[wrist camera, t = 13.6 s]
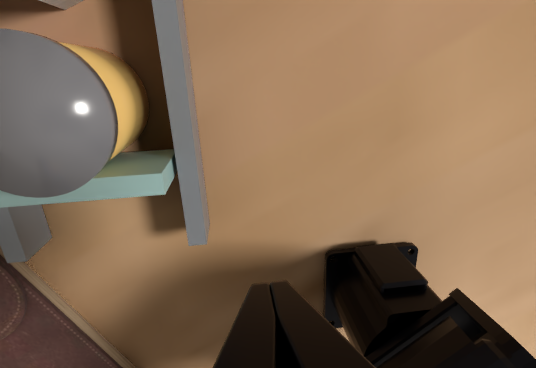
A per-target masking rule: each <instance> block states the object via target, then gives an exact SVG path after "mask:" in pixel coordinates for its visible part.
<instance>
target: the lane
mask: <svg viewBox="0 0 536 368" xmlns="http://www.w3.org/2000/svg"><path fill="white" fill-rule="evenodd" d="M152 6H153V13H154V19H155V26H156V32H157V39H158V46H159V52H160V59H161V65H162V72H163V79H164V85H165V92H166V99H167V105H168V112H169V118H170V125H171V132H172V138H173V145H174V151H175V158H176V165H177V171H178V178H179V184H180V191H181V198H182V204H183V211H184V217H185V224H186V231H187V237H188V244H189V246H193V245H203V244H207V240H208V232H209V225H210V222H209V214H208V205H207V197H206V189H205V181H204V172H203V164H202V156H201V148H200V139H199V131H198V123H197V115H196V106H195V98H194V90H193V82H192V73H191V65H190V57H189V49H188V40H187V32H186V24H185V16H184V7H183V0H152ZM51 238H52V236H51V233H50V230H49V227H48V224H47V220H46V217H45V214H44V211H43V208H42V205H41V204H40V205H28V206H16V207H3V208H0V246H1V249H2V251H3V254H4V256H5V259H6V261H7V263H14V262H25V261H28V260H29V259H30V258H31V257H32V256H33V255H34V254H35V253H36V252H38V251H39V250H40V249H41V248H42V247H43V246H44V245H45V244H46V243H47V242H48V241H49V240H50V239H51Z"/></svg>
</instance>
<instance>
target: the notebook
mask: <svg viewBox="0 0 536 368" xmlns="http://www.w3.org/2000/svg"><path fill="white" fill-rule="evenodd" d="M0 368H136V367H135V366H134V365H133V364H132V363H131V362H130V361H129V360H128V359H127V358H125V357H124V356H123V355H122V354H121V353H120V352H119V351H118V350H117V349H116V348H115V347H114V346H113V345H112V344H111V343H110V342H108V341H107V340H106V339H105V338H104V337H103V336H102V335H101V334H100V333H99V332H98V331H97V330H96V329H95V328H94V327H93V326H91V325H90V324H89V323H88V322H87V321H86V320H85V319H84V318H83V317H82V316H81V315H80V314H79V313H78V312H77V311H76V310H74V309H73V308H72V307H71V306H70V305H69V304H68V303H67V302H66V301H65V300H64V299H63V298H62V297H61V296H60V295H59V294H58V293H56V292H55V291H54V290H53V289H52V288H51V287H50V286H49V285H48V284H47V283H46V282H45V281H44V280H43V279H42V278H41V277H39V276H38V275H37V274H36V273H35V272H34V271H33V270H32V269H31V268H30V267H29V266H28V265H27V264H26V263H25V262H14V263H7V261H6V259H5V256H4V254H3V251H2V249H1V246H0Z"/></svg>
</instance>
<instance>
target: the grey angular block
mask: <svg viewBox="0 0 536 368" xmlns="http://www.w3.org/2000/svg"><path fill="white" fill-rule="evenodd" d="M39 1H42V2H44V3H47V4H50V5H53V6H56V7H58V8H61V9H64V10H66V9H68V8H70V7H72V6H74V5H76V4H78V3H80V2H81V1H83V0H39Z"/></svg>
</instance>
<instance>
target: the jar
mask: <svg viewBox="0 0 536 368" xmlns="http://www.w3.org/2000/svg"><path fill="white" fill-rule="evenodd" d="M148 114H149V103H148V97H147V93H146V90H145V88H144V85H143V83H142V81H141V79H140V78H139V77H138V75H137V74H136V72H135V71H134V70H133V69H132V68H131V67H130V66H129V65H128V64H127V63H126V62H125V61H123V60H122V59H121V58H119V57H118V56H116V55H114V54H112V53H110V52H108V51H105V50H102V49H99V48H93V47H87V46H81V45H74V44H68V43H61V42H57V41H54V40H52V39H50V38H47V37H44V36H41V35H37V34H34V33H28V32H23V31H17V30H10V29H0V190H1V191H4V192H7V193H10V194H14V195H18V196H24V197H33V198H47V197H54V196H59V195H63V194H67V193H69V192H72V191H74V190H76V189H78V188H80V187H81V186H83V185H85V184H86V183H87V182H88V181H90V180H91V179H92V178H94V177H95V176H96V175H97V174H98V173H100V172H101V171H102V169H103V168H104V167H105V166H106V165H107V163H108V162H109V161H110V160H111V159H112V158H113V157H115V156H116V155H117V154H119V153H120V152H121V151H123V150H124V149H125V148H127V147H128V146H129V145H131V144H132V143H133V142H134V141H136V140H137V138H138V137H139V136H140V135H141V133H142V132H143V130H144V128H145V126H146V123H147V120H148Z"/></svg>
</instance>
